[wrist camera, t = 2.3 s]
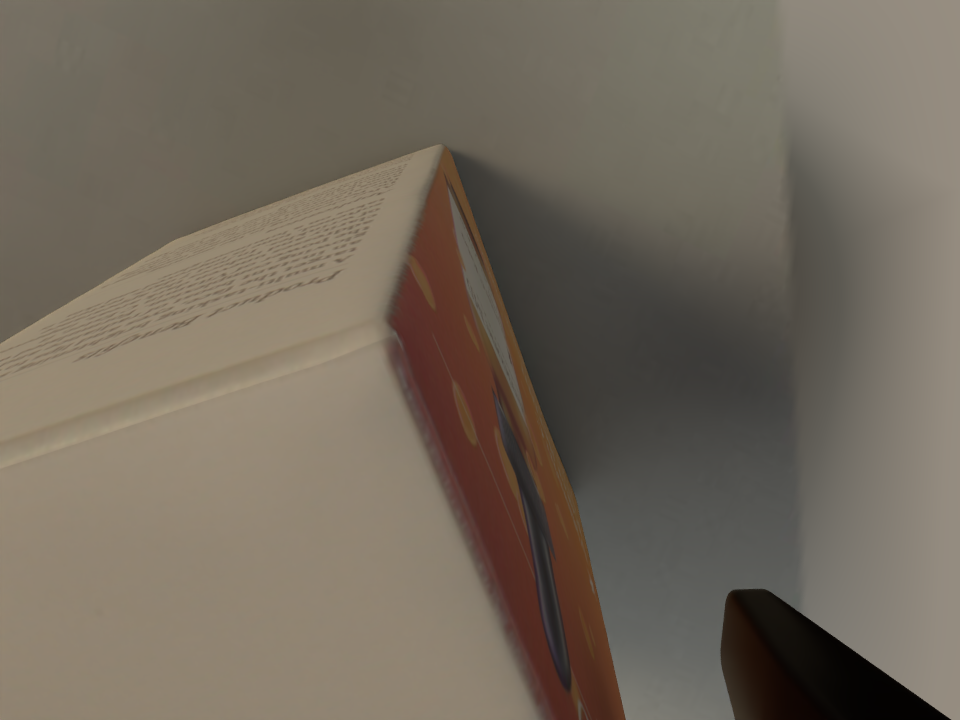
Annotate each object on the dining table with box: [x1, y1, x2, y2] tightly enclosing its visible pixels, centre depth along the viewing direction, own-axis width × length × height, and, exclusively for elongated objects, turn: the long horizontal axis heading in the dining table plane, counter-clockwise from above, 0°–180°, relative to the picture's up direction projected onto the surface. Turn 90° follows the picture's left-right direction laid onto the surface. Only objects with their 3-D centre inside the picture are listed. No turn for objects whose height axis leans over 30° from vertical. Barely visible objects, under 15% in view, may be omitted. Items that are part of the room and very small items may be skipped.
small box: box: [0, 144, 626, 720], centre depth 11 cm, size 8×6×10 cm
